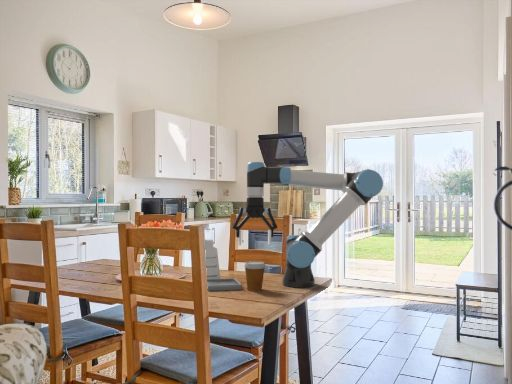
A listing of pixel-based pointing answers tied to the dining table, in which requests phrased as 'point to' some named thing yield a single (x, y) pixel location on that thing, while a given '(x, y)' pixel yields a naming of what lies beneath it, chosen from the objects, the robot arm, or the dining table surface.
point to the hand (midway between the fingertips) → (254, 244)
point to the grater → (211, 260)
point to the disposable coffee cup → (254, 275)
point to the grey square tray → (223, 284)
